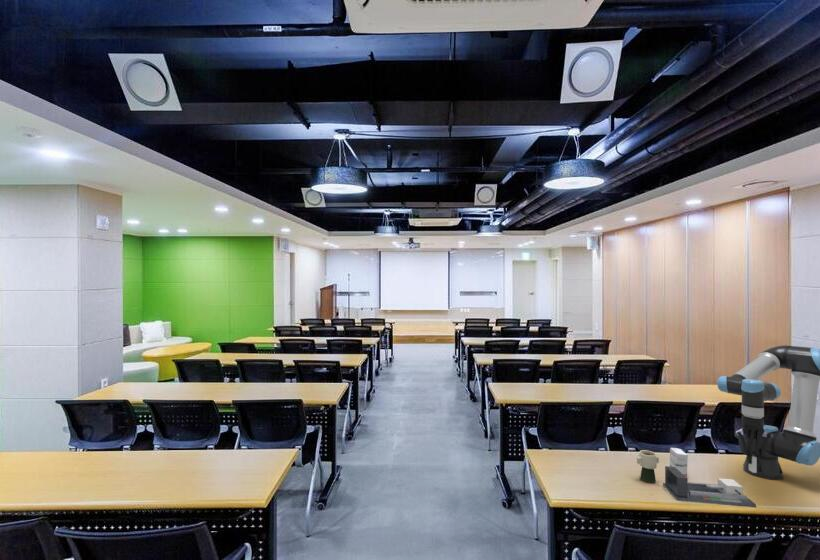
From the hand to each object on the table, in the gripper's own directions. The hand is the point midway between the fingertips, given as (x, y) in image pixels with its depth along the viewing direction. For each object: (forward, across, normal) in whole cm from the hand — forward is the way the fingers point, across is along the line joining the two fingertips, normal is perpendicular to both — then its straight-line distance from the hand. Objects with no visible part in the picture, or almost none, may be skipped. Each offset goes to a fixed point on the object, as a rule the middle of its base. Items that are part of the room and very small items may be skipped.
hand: (752, 471), depth 181 cm
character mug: (+13, +38, -11) cm, 41 cm away
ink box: (+12, +20, -20) cm, 31 cm away
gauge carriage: (+11, +12, +2) cm, 16 cm away
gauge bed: (+12, +18, 0) cm, 21 cm away
